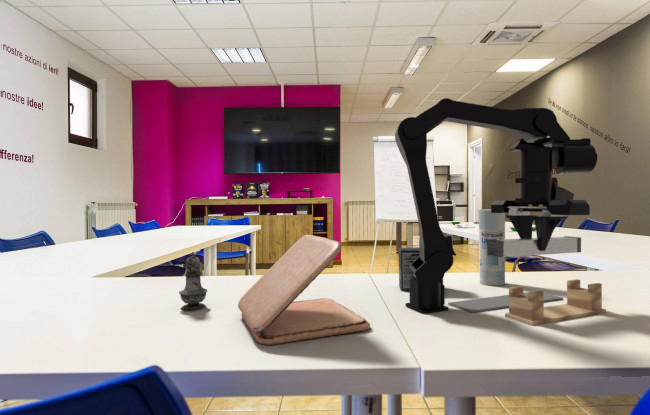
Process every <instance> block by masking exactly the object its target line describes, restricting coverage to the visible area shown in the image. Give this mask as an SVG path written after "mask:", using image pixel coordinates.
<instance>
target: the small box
mask: <svg viewBox="0 0 650 415" xmlns="http://www.w3.org/2000/svg"><path fill="white" fill-rule="evenodd" d="M418 257H419V247H398V279H399V280H398V287H399V289H400V291H401V292H410V284H409V278H413V277H415V276H414V275H413V274H412V272H411V270H410V265H411V264H412V263H413V262H414V261H415V260H416V259H417V258H418Z"/></svg>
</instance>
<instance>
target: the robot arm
mask: <svg viewBox="0 0 650 415" xmlns="http://www.w3.org/2000/svg"><path fill="white" fill-rule="evenodd" d="M444 122H448V123H455V124H460V125H461V124H462V125H467V126H473V127H479V128H484V129H490V130H496V131H501V132H504V133H505V134H507V135H509V136H511V137H512V138H515V139H518V140H516V142H515V143H514V144H513V145H512V146H511V147H510V148H509V149H508V151H509V152H510V153H511V152H512V153H513V152H517V153H518V152H519V155H520V156H519V157H520V158H519V173H520V174H519V178H517V177H516V178H514V179H515V180H514V181H515V184H519V198H517V197H515V198H514V200H505V199H504V200H493V202H492V203H491V204H490V209H491V213H505V219H506V218H507V219H508V220H509V221H510V223H511V224H512V226H513V228H514V229H515V230H516V233H517V235H518V236H519V239H525V238H533V223H534V226H535V233H536V238H537V241H538V245H539V249H540V251H545V250H546V247H547V245H548V243H549V240H550V238H551V237H552V236H553V234H554V231H555V229H556V227H557V226H558V224H559V223H561V222H562V221H563V220H567V219H568V218H569V216H590V215H591V213H590V212H591V210H590V209H591V207H590V204H589V203H588V202H587V200H586V199H574V198H575V193H573V192H572V191H570V190H568V189H565V188H564V187H560V186H559V184H558V183H559V182H558V179H557V177H553V170H555V172H556V173H558V174H561V173H562V174H568V173H569V174H574V173H575V174H582V173H584V174H588V173H591V172H592V171H593V170H594V169H595V168H596V166H597V163H598V153H597V151H596V150H597V149H596V148H595V147H594V145H593V144H592V143H591V141H592V140H591V138H588V137H587V138H586V137H585V138H583V137H582V138H579V139H578V138H577V139H571V137H570V136H569V135H568V134H567V132H566V131H565V130H564V128H563V127H562V126H561V124H560V123H559V122H558V118H557V116H556V114H555V113H554V111H553V110H552V109H551V108H546V107H526V108H525V107H524V108H515V109H512V108H511V109H508V108H502V107H495V106H488V105H483V104H478V103H477V104H476V103H472V102H471V103H470V102H466V101H458V100H454V99H451V98H449V97H448V98H447V97H446V98H442V99H440V100H439V101H438V102H437V103H436V104H435V105H432V106H431V107H430V108H427V109H426V110H424V111H423V112H421V113H420V114H418V115H417V116H416V117H414V116H411V117H406V118H404V119H403V120H401V121H400V123H399V124H398V127H397V129H396V130H395V132H394V141H395V143H396V146H397V148H398V151H399V153H400V155H401V158H402V159H403V162H404V163H405V165H406V169H407V173H408V174H407V175H408V178H409V184H410V188H411V193H412V198H413V203H414V206H415V212H416V216H417V222H418V226H419V238H418V239H419V240H418V248H419V257H418V258H417V259H416V260H415V261H414V262H413V263H412V264H411V265H410V270H411V272H412V274H413V275H414V276H415V277H413V278H409V284H410V291H409V302H406V303H405V307H408V308H410V309H412V310H415V311H417V312H420V313H422V314H428V313H432V312H433V313H434V312H441V311H448V310H449V306H447V305H445V302H446V297H445V296H446V295H445V294H446V292H445V289H446V287H445V285H444V277H445V275H446V273H447V272H448V271H450V270H451V268H452V267H453V265H454V256H457V253H456V252H455V251H454V246H453V236H452V235H451V234H448V233H445V232H444V233H443V231H442V228H441V227H440V221H439V215H438V212H437V207H436V202H435V199H434V197H435V196H434V193H433V189H432V185H431V184H432V183H431V178H430V174H429V169H428V165H427V148H428V139H427V138H428V136H427V134H429V133H430V132H431V131H433V130H434V129H435V128H437V127H438V126H439V125H441V124H442V123H444ZM530 205H532V206H530ZM540 205H541V206H540ZM531 212H533V213H534V212H536V213H537V212H539V213H541V215H537V214H535V215H534V214H531ZM507 213H508V214H507Z"/></svg>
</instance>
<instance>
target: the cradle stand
mask: <svg viewBox="0 0 650 415" xmlns="http://www.w3.org/2000/svg"><path fill="white" fill-rule="evenodd" d="M602 285H603V284H602V283H601V282H600V283H597V282H596V283H589V284H587V288H583V287H581V279H578V278H577V279H570V280H566V303H564V304H563V303H562V304H557V305H550V306H544V303H545V302H544V293H545V292H544V291H543V290H534V292H533V291H528V296H525V295H524V293H525V292H524V286H521V285H519V286H511V287H508V295H509V307H508V312H506V313H504V317H505V318H508V319H511V320H514V321H518V322H521V323H522V324H523V323H524V324H527V325H530V326H536V325H542V324H548V323H554V322H560V321H565V320H570V319H577V318H581V317H582V318H583V317H587V316H593V315H599V314H605V313H607V309H606V308H603V294H602V291H603V289H602V288H603V287H602Z"/></svg>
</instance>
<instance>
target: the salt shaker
mask: <svg viewBox="0 0 650 415" xmlns="http://www.w3.org/2000/svg"><path fill="white" fill-rule="evenodd" d="M202 274H203V272H201V260H200V258H199V257H198V256H195V253H194V252H192V253H191V255H190V256H189V257H188V258H186V260H185V272H184V274H183V275H184V276H185V287H184V289H183V290H180V291H179V292H178V294H179V295H180V299H181V301H182V302H183V303H185V304H184V305H183V306H182V307H181V308H180V311H183V312H196V311H200V310H205V309H206V308H207V305H206V304H205V303H202V302H203V301H204V300H205V299H206V297H207V293H208V291H209V290H208V289H207V288H203V287H202V283H201V275H202Z"/></svg>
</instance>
